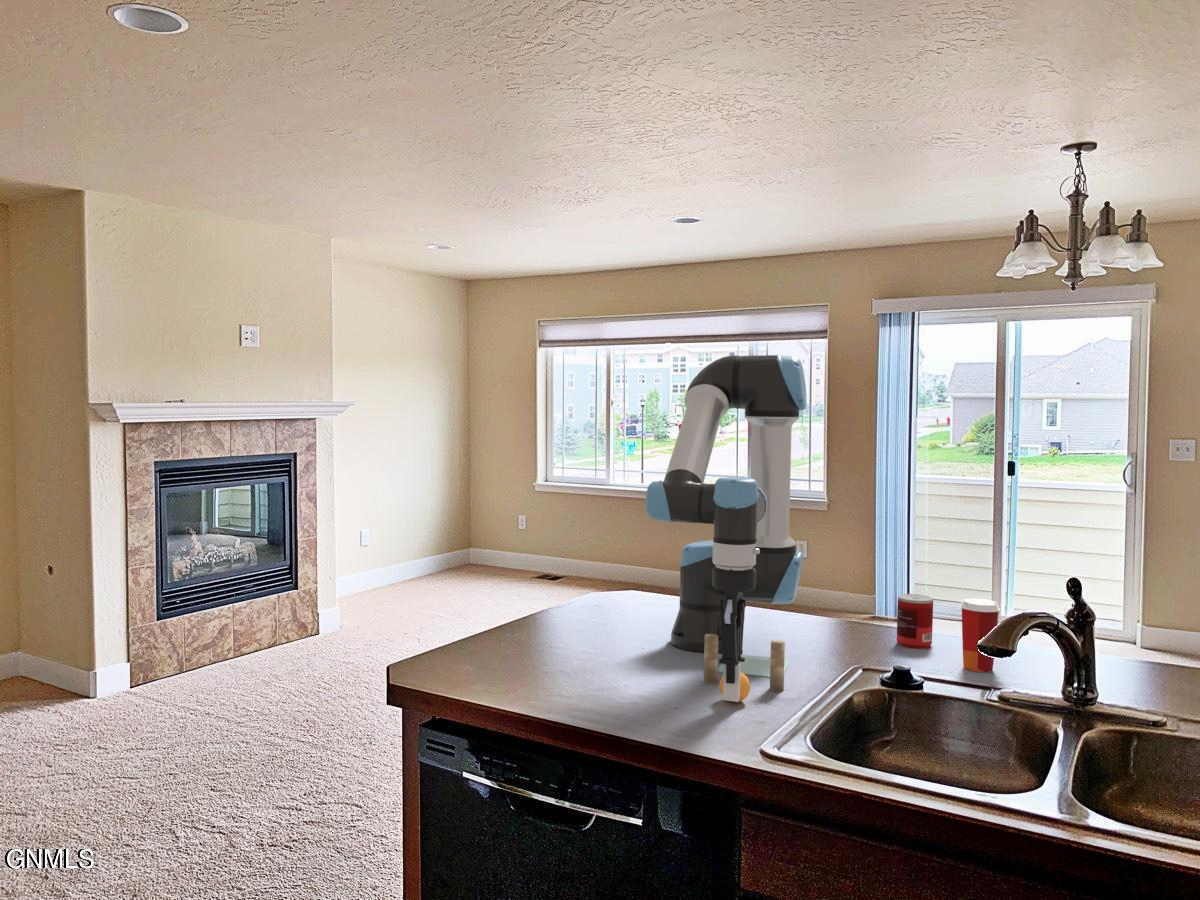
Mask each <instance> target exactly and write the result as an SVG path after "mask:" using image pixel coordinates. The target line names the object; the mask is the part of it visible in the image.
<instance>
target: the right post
mask: <svg viewBox="0 0 1200 900" xmlns="http://www.w3.org/2000/svg"><path fill="white" fill-rule="evenodd" d="M785 646H786V641H785V640H781V639H780V640H779V639H774V640H771V641H770V655H769V656H770V658H769V659H770V677H769V690H770V691H772V692H783V691H784V690H785V688H784V687H785V673H784V660H786V659H785V658H786V657H785V655H786V653H785V651H786V647H785Z"/></svg>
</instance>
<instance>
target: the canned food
mask: <svg viewBox="0 0 1200 900" xmlns="http://www.w3.org/2000/svg"><path fill="white" fill-rule="evenodd" d="M896 614H897V615H896V618H897V619H896V643H897V644H898V645H899V646H900V647H903V648H906V647H907V648H906V649H912V648H913V649H916V650H925V649H924V648H926V649H929V648H931V646H932V643H933V624H934V623H933V621H934V618H933V617H934V598H933V597H931V596H928V595H924V594H915V593H902V594H899V595H898V596H897V612H896Z"/></svg>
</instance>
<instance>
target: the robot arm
mask: <svg viewBox="0 0 1200 900" xmlns="http://www.w3.org/2000/svg"><path fill="white" fill-rule="evenodd" d="M684 406H685V412H684V415H683V418H682V422H681V425H680V428H679V431H678V435H677V437H676V441H675V444H674V447H673V450H672V453H671V456H670V460H669V463H668V465H667V469H666V472H665V476H664V480H657V481H654V480H653V481H652V482H651V483H649V485H648V486H647V489H646V494H645V508H646V509H645V510H646V514H647V515H648V517H649V518H650V519H651V520H654V521H660V522H666V523H690V524H691V523H692V524H707V525H708V524H709V525H713V539H712V540H703V541H696V542H691V543H688V544H686V545H685V546H684V547H683V548H682V549H681V553H680V563H679V569H680V570H679V608H678V609H679V610H678V612H677V615H676V617H675V620H674V621H675V622H674V624H673V626H672V630H671V634H670V644H671V645H672V646H674V647H676V648H678V649H681V650H685V651H691V652H700V653H704V648H705V635H706V634H716V635H718V653H721V658H720V659H719V660H718V664H719V665H721V664H724V672H722V673H723V675H722V676H723V696H722V701H729V702H731V701H735V702H734V703H739V702H738V701H739V699H740V663H739V661H740V662H744V661H745V658H744V657H741V656H743V653H744V651H743V645H744V644H743V643H744V631H745V630H744V629H745V626H744V625H745V610H746V607H747V602H751V603H760V604H761V603H762V604H770V605H774V604H776V605H789V604H791V603H793V602H794V600H796V598H797V597H796V596H797V593H798V590H799V583H800V581H801V580H800V579H801V573H802V566H803V557H804V554H803V552H801V551H800V550H797V543H796V542H797V541H795V540H794V538H792V537H791V536H790V512H791V511H790V510H791V509H790V508H791V505H790V504H791V502H790V501H791V498H790V497H791V472H792V471H791V465H792V462H791V461H792V427H793V424H795V423H796V422H797V421H798V420H799V419H800V411H803V410H804V411H805V409H806V408H807V388H806V379H805V373H804V368H803V364H802V361H801V360H800V358H799V357H797V356H795V355H784V354H783V355H782V354H775V355H774V354H773V355H772V354H771V355H770V354H769V355H768V354H767V355H735V354H734V355H733V354H732V355H727V356H723V357H721V358H718V359H715V360H714V361H712V362H711V363H709V364H707V365H706V366H705V367H704V368H702V369H701V370H700V371H699V372H698V373H697V374H696V376H695V377H694V378H692V381H691V382H690V384H689V385H688V388H687V390H686V393H685V396H684ZM729 409H735V410H736V409H740V410H741V409H742V410H744V419H745V420H747V421H748V423H749V424H750V426H751V437H750V438H751V443H750V444H751V445H750V477H739V476H737V477H736V476H733V477H731V476H730V477H729V476H727V477H720V478H718V479H717V480H715V483H704V482H705V478H706V476H707V475H706V474H707V471H708V467H709V463H710V461H711V455H712V453H713V449H714V445H715V441H716V437H717V434H718V430H719V426H720V422H721V419H722V418H723V417H724V416H726V414H727V413H728V410H729Z"/></svg>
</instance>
